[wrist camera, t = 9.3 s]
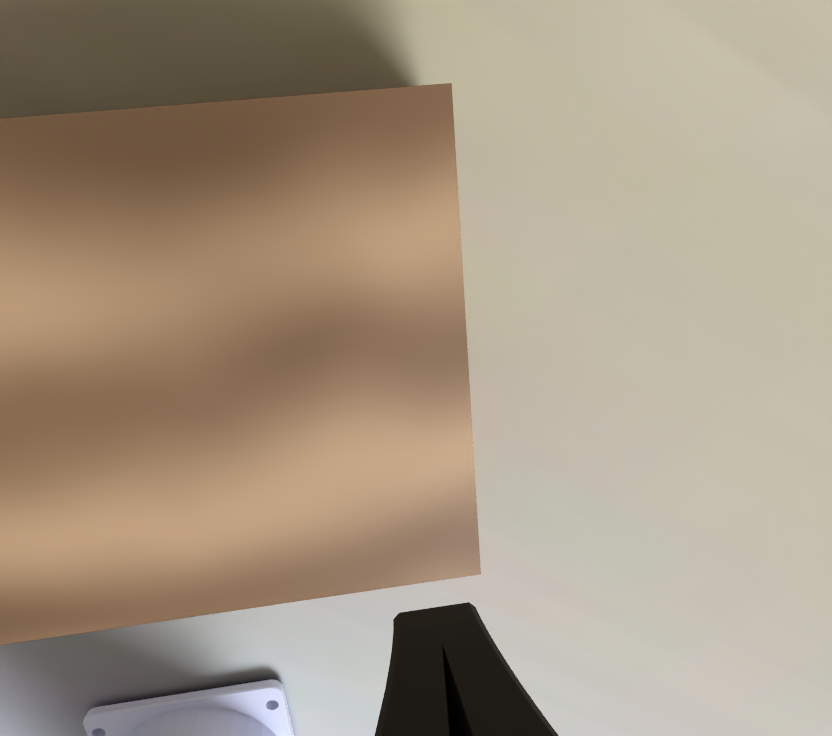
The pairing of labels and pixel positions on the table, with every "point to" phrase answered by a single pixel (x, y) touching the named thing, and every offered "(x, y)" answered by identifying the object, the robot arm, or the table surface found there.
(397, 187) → the brown wooden flat block
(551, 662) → the table surface
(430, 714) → the robot arm
